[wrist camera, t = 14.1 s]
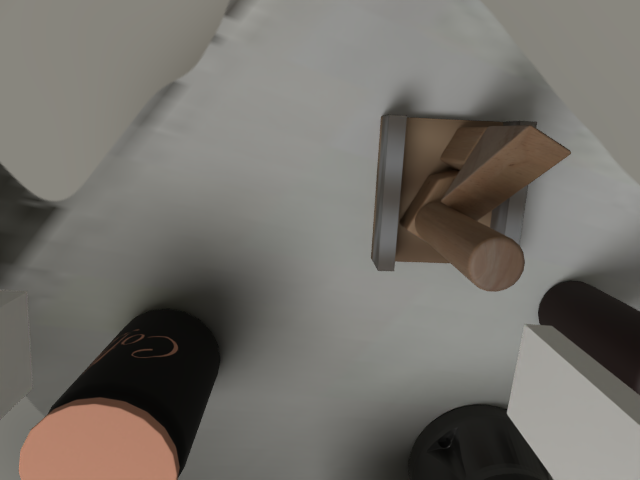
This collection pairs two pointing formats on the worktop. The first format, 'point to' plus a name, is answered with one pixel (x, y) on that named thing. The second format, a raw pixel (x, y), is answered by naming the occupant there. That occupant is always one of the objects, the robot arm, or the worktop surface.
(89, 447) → the coffee jar
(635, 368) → the bottle
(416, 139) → the metal-railed wooden board
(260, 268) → the worktop surface
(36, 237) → the worktop surface
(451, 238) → the brown upright wooden piece
